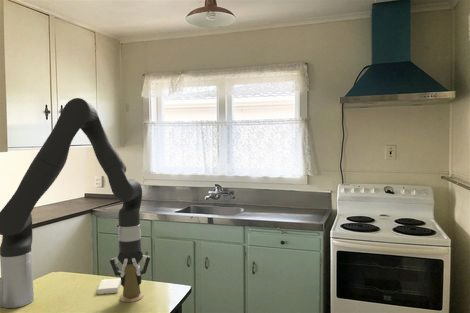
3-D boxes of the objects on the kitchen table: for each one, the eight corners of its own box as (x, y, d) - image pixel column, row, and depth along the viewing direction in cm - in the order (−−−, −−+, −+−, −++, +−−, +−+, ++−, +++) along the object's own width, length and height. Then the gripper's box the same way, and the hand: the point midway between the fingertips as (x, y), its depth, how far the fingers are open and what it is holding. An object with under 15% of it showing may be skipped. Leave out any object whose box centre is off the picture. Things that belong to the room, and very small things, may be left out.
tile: (97, 289, 132) (102, 279, 141) (97, 295, 132) (102, 285, 141) (117, 287, 133) (121, 278, 142) (117, 293, 133) (121, 283, 142)
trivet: (118, 303, 125) (118, 301, 125) (121, 293, 133) (121, 291, 133) (142, 301, 126) (142, 299, 126) (144, 291, 134) (144, 289, 134)
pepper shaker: (135, 297, 126) (134, 266, 125) (119, 296, 127) (118, 265, 126) (143, 290, 132) (142, 260, 131) (127, 289, 133) (126, 259, 132)
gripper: (151, 233, 133) (152, 280, 134) (110, 235, 131) (112, 283, 132) (150, 239, 126) (151, 288, 127) (106, 241, 123) (108, 292, 124)
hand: (131, 285), depth 129 cm, fingers closed on pepper shaker, 4 cm apart
